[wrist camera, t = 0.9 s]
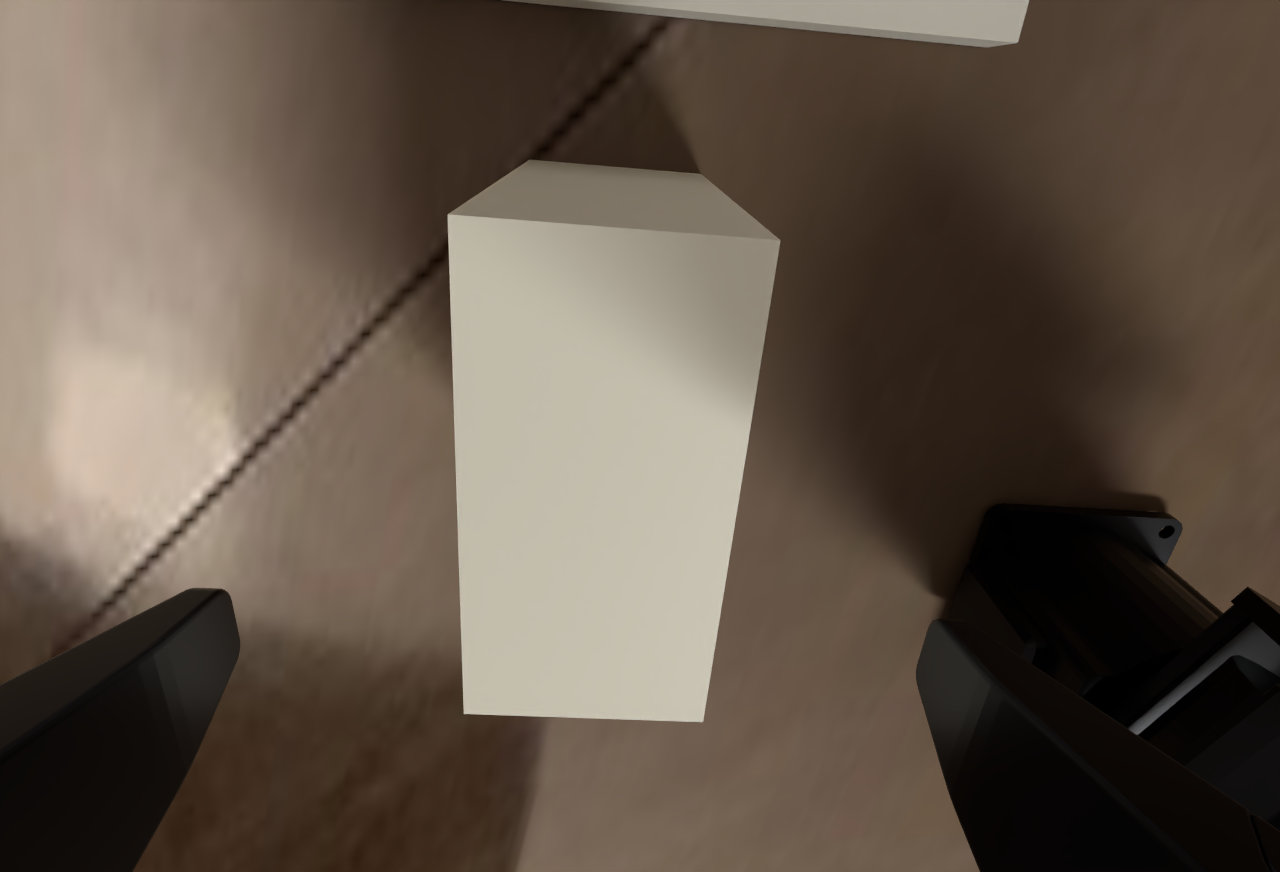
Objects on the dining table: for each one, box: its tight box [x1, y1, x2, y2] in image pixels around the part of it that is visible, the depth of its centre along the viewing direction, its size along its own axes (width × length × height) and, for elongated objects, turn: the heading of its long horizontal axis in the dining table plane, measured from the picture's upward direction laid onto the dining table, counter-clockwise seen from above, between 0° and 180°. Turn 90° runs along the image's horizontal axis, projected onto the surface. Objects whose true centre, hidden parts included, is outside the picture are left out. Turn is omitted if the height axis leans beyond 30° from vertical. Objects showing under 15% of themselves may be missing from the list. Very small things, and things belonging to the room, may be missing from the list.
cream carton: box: [448, 160, 781, 722], centre depth 16 cm, size 5×9×10 cm, turn 175°
